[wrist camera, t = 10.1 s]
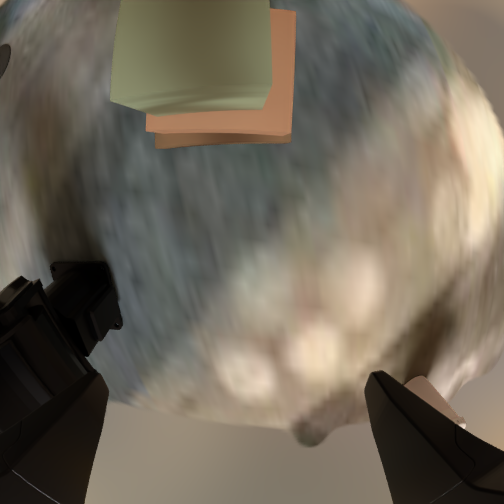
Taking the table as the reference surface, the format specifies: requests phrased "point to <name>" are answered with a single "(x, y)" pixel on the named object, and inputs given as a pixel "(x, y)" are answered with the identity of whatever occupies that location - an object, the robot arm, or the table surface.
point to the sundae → (4, 58)
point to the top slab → (249, 121)
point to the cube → (192, 56)
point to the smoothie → (433, 398)
